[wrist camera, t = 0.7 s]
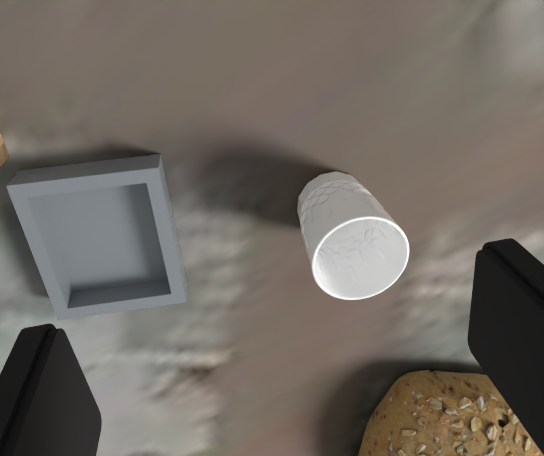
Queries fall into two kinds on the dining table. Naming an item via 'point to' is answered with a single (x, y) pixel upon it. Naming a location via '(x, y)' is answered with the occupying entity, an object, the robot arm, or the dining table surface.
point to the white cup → (349, 238)
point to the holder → (3, 151)
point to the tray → (101, 234)
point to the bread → (445, 419)
